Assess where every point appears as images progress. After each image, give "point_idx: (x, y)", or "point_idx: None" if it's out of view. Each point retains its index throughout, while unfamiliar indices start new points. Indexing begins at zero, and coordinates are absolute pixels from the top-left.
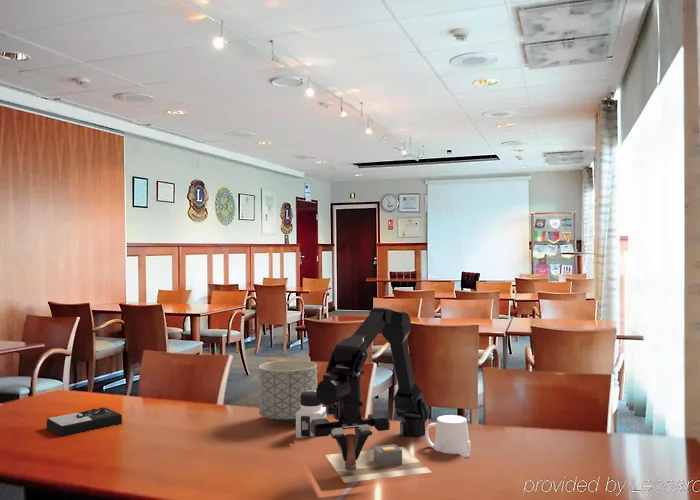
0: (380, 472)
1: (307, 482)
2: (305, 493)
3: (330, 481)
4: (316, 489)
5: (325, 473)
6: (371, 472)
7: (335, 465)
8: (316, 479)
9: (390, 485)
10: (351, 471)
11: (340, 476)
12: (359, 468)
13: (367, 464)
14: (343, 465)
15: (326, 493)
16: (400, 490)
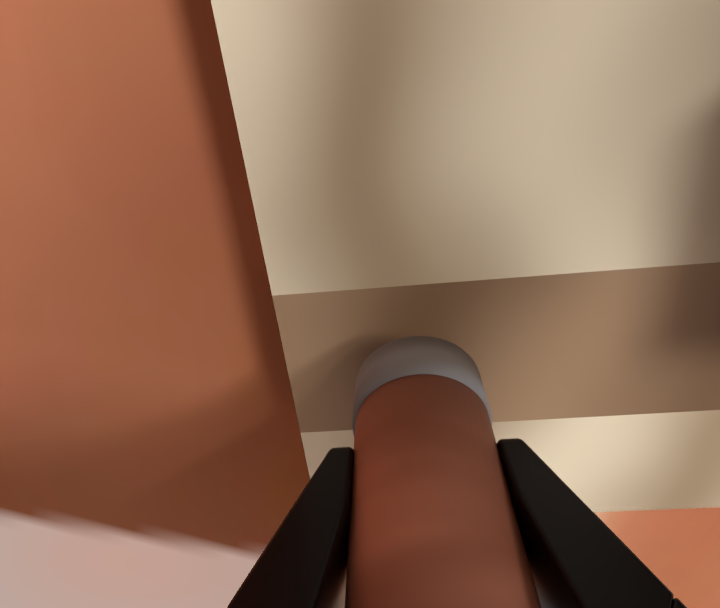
0: (710, 406)
1: (10, 347)
2: (43, 510)
3: (218, 366)
4: (112, 473)
5: (161, 162)
6: (624, 393)
7: (271, 93)
8: (82, 300)
9: (670, 512)
10: (433, 328)
11: (300, 418)
12: (549, 263)
13: (708, 151)
14: (380, 119)
15: (190, 533)
16: (688, 579)
